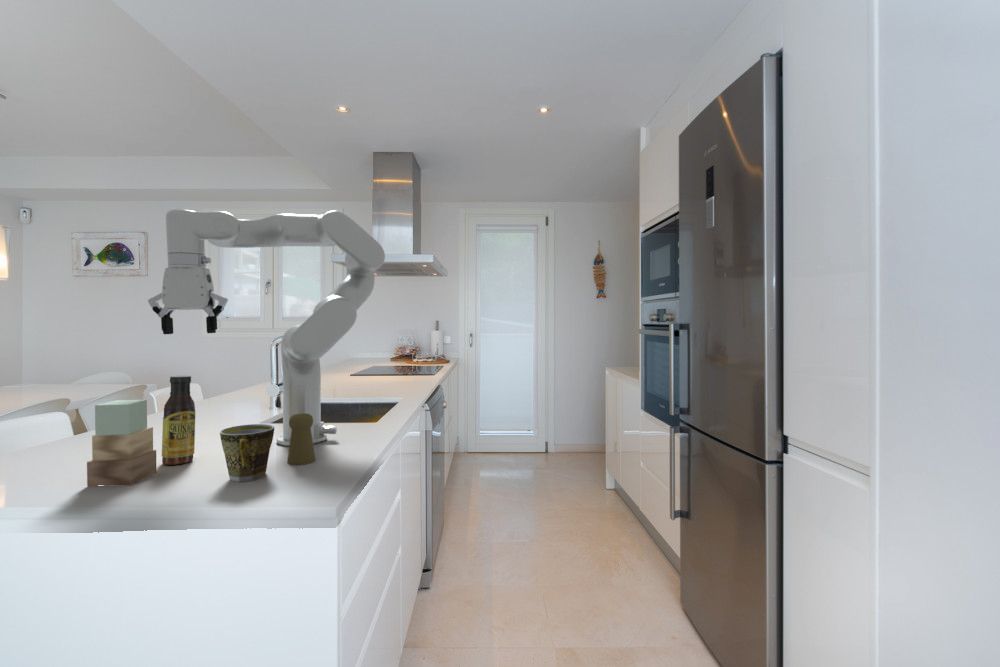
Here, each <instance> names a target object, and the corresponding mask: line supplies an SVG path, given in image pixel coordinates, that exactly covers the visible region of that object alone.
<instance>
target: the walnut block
mask: <svg viewBox="0 0 1000 667" xmlns="http://www.w3.org/2000/svg"><path fill="white" fill-rule="evenodd" d="M154 473H155V474H157V449H153V451H151V452H149V453H146V454H144V455H141V456H139V457H136V458H134V459H131V460H107V461H92V459H91V460H89V461H87V462H86V483H87V485H86V487H87V486H95V487H99V486H98V485H125V486H133V485H135V484H137V483H139V482H141V481H143V480H145V479H147V478H149V477H151V476H153V475H154ZM152 474H153V475H152ZM150 475H151V476H150ZM148 476H149V477H148ZM146 477H147V478H146ZM142 479H143V480H142ZM140 480H141V481H140ZM138 481H139V482H138ZM136 482H137V483H136ZM134 483H135V484H134ZM132 484H133V485H132Z"/></svg>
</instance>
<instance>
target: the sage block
mask: <svg viewBox="0 0 1000 667" xmlns="http://www.w3.org/2000/svg"><path fill="white" fill-rule="evenodd" d="M147 427H148V400H147V399H120V400H119V399H117V400H116V399H115V400H110V401H107V402H103V403H98V404H95V405H94V429H95V431H94V432H95V434H94V435H95V436H100V435H129V434H132V433H135V432H138V431H140V430H143V429H146V428H147Z"/></svg>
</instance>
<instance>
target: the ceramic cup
mask: <svg viewBox="0 0 1000 667" xmlns="http://www.w3.org/2000/svg"><path fill="white" fill-rule="evenodd" d="M274 434H275V426H274V425H272V424H266V423H264V424H263V423H254V424H244V425H243V424H242V425H237V426H236V425H235V426H231V427H227V428H224V429H222V430H220V431H219V435H220V441H221V446H222V450H223V453H224V459H225V463H226V468H227V473H228V477H229V480H230V481H231V482H237V483H244V482H245V483H246V482H253V481H256V480H259V479H263V478H264V477H265V475H266V472H267V468H268V461H269V457H270V456H269V455H270V450H271V446H272V443H273V440H274Z"/></svg>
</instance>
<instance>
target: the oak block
mask: <svg viewBox="0 0 1000 667" xmlns="http://www.w3.org/2000/svg"><path fill="white" fill-rule="evenodd" d="M153 450H154V427H150V426H149V427H148V426H147V428H146V429H143V430H140V431H138V432H135V433H132V434H129V435H100V436H95V434H92V436H91V453H92V456H91V457H92V459H91V460H92V461H107V460H131V459H134V458H136V457H139V456H141V455H144V454H146V453H149V452H151V451H153Z"/></svg>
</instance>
